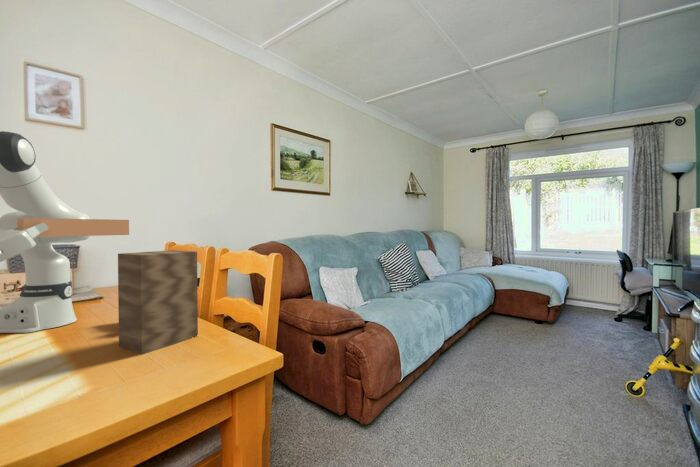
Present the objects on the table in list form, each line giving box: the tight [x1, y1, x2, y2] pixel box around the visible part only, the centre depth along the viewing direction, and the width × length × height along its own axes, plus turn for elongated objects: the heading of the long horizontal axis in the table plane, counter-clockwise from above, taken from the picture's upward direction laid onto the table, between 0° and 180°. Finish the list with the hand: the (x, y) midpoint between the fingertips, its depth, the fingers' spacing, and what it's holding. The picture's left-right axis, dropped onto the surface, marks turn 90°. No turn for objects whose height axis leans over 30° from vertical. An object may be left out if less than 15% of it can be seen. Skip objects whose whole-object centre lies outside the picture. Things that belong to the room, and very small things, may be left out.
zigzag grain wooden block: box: [117, 249, 199, 355], centre depth 92 cm, size 16×12×26 cm
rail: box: [17, 218, 130, 237], centre depth 76 cm, size 20×4×4 cm, turn 150°
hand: (40, 225), depth 70 cm, fingers closed on rail, 4 cm apart
